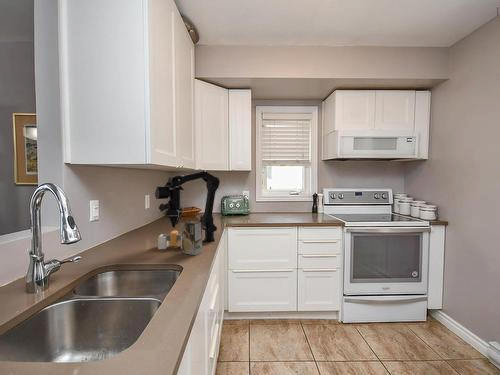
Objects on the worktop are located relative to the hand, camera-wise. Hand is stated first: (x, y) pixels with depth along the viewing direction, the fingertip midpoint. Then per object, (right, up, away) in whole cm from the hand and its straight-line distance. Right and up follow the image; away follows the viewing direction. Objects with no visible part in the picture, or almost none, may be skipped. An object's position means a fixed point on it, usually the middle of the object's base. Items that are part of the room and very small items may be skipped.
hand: (175, 225), depth 144 cm
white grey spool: (0, -12, 0) cm, 12 cm away
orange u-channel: (0, -10, 0) cm, 10 cm away
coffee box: (+12, -13, -10) cm, 20 cm away
